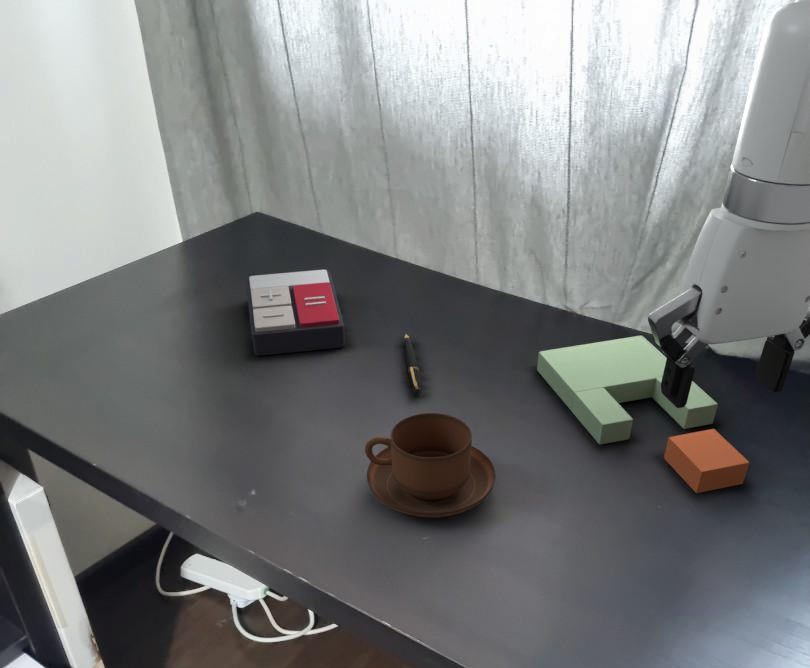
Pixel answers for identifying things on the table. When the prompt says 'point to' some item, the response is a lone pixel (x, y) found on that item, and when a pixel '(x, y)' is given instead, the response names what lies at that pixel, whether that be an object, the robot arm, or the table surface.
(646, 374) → the base pad
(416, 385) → the fountain pen
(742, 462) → the orange block
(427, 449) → the cup and saucer
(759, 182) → the robot arm
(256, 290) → the calculator
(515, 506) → the table surface
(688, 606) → the table surface
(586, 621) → the table surface
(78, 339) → the table surface
